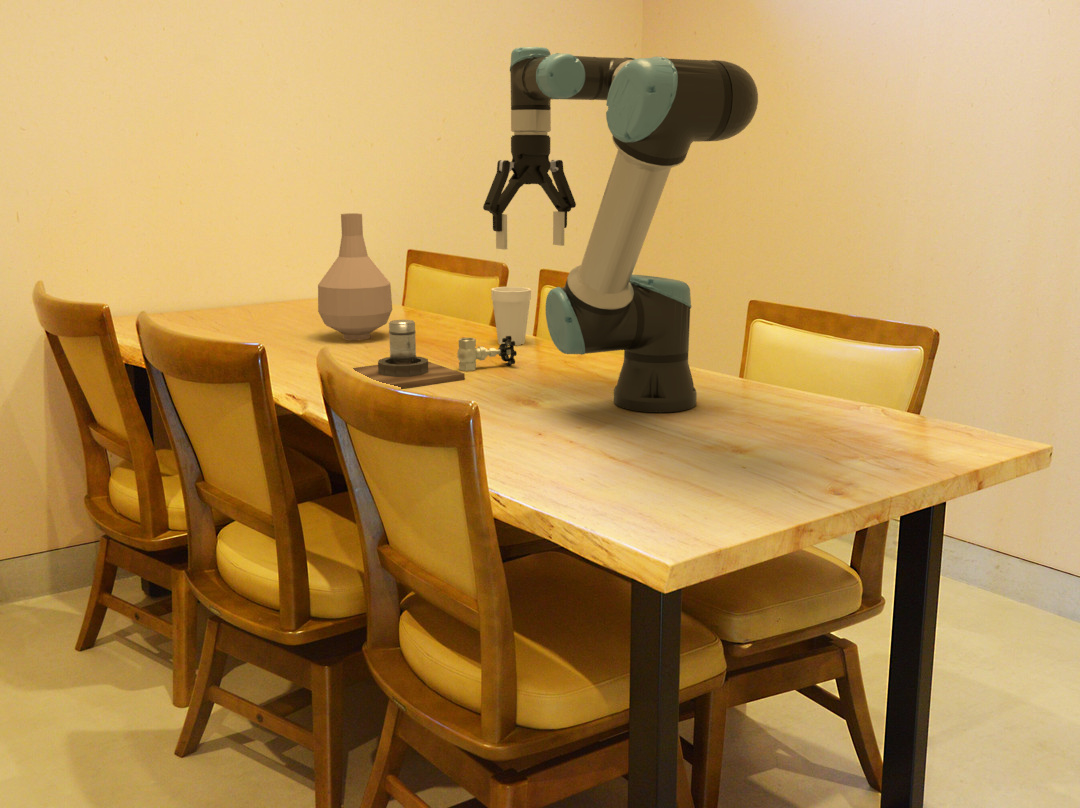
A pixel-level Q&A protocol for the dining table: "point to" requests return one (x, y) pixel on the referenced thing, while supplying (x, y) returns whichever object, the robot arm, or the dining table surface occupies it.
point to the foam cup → (511, 312)
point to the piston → (402, 342)
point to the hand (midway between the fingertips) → (530, 247)
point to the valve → (483, 353)
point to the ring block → (410, 373)
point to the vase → (354, 287)
